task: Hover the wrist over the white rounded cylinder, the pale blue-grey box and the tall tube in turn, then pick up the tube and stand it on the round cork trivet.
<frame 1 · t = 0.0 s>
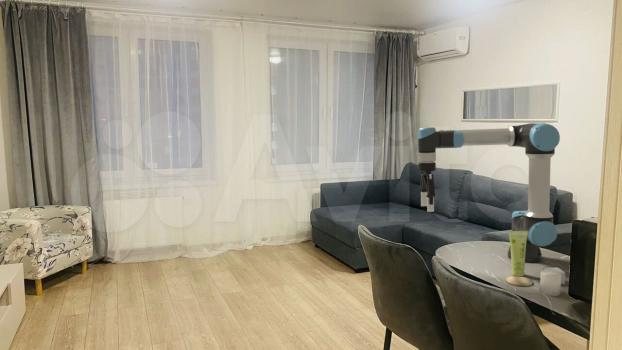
hand: (427, 208, 206), 28 cm above the table, fingers open, 13 cm apart
white rounded cylinder: (550, 292, 176), on the table
box: (553, 281, 187), on the table
trivet: (519, 282, 188), on the table
tube: (517, 275, 197), on the table
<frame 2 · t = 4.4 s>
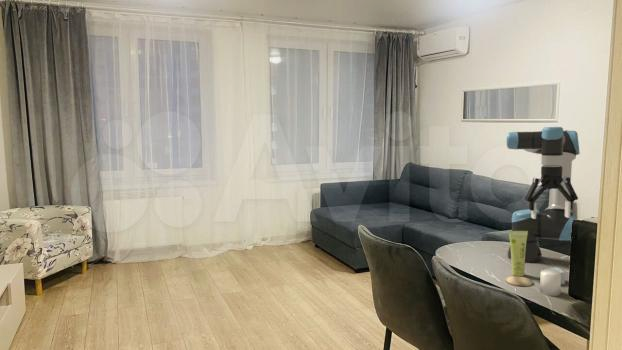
hand: (550, 217, 184), 27 cm above the table, fingers open, 13 cm apart
nothing on the table moved.
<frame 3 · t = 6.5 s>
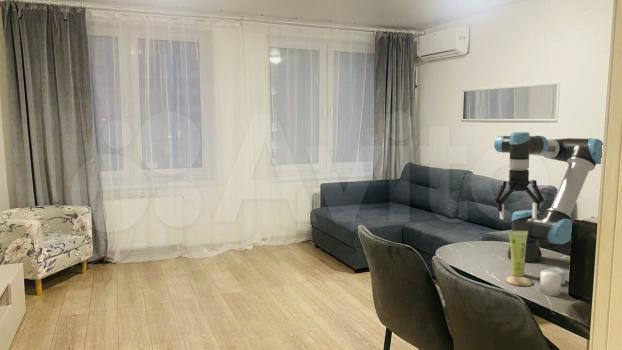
hand: (518, 218, 194), 25 cm above the table, fingers open, 13 cm apart
nothing on the table moved.
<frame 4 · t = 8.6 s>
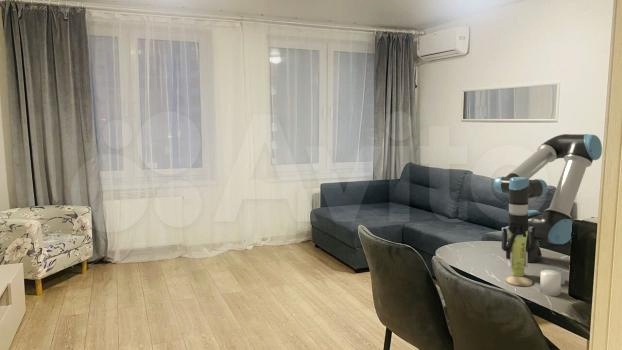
hand: (517, 266, 196), 4 cm above the table, fingers closed on tube, 6 cm apart
tube: (517, 275, 197), on the table, touching gripper
everything else where it was.
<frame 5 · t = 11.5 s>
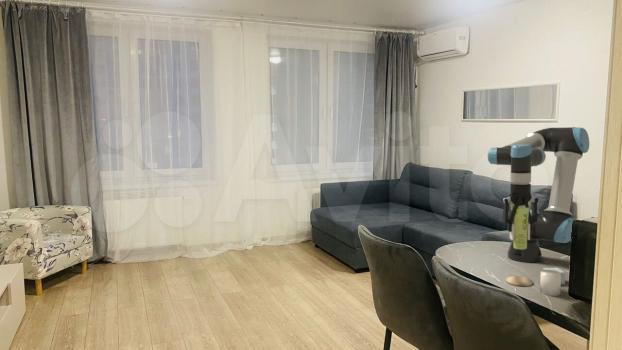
hand: (519, 239, 186), 18 cm above the table, fingers closed on tube, 6 cm apart
tube: (519, 248, 186), point 14 cm above the table, touching gripper
everything else where it was.
when the fingers open (5 cm above the table, at t = 14.0 s): tube stays where it is, resting on trivet.
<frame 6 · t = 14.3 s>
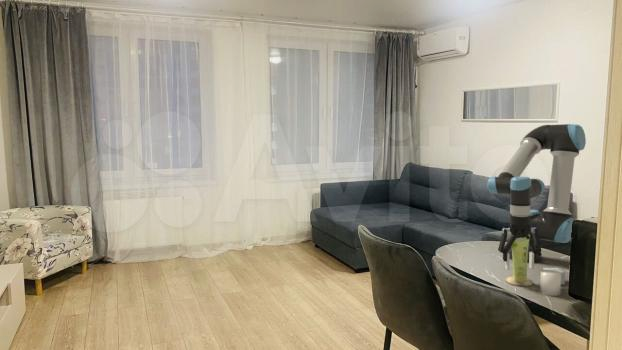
hand: (519, 268, 187), 6 cm above the table, fingers open, 9 cm apart
tube: (519, 280, 188), point 1 cm above the table, touching trivet
everything else where it was.
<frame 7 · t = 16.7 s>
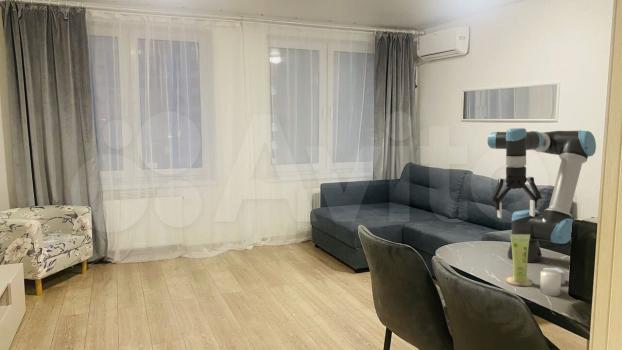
hand: (515, 216, 189), 27 cm above the table, fingers open, 13 cm apart
nothing on the table moved.
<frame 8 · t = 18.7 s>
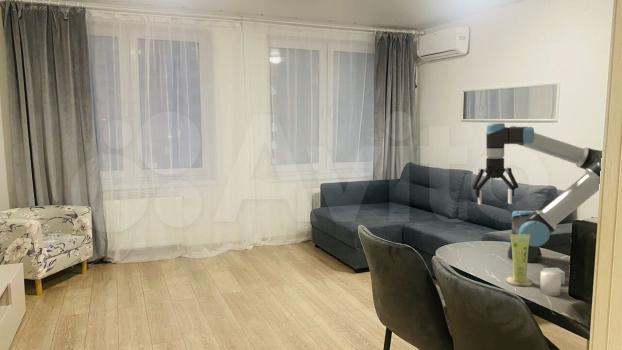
hand: (494, 204, 208), 29 cm above the table, fingers open, 13 cm apart
nothing on the table moved.
at the end: tube 0.2 cm from the trivet (horizontally); tube point 0.6 cm above the table; tube tilted 0° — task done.
